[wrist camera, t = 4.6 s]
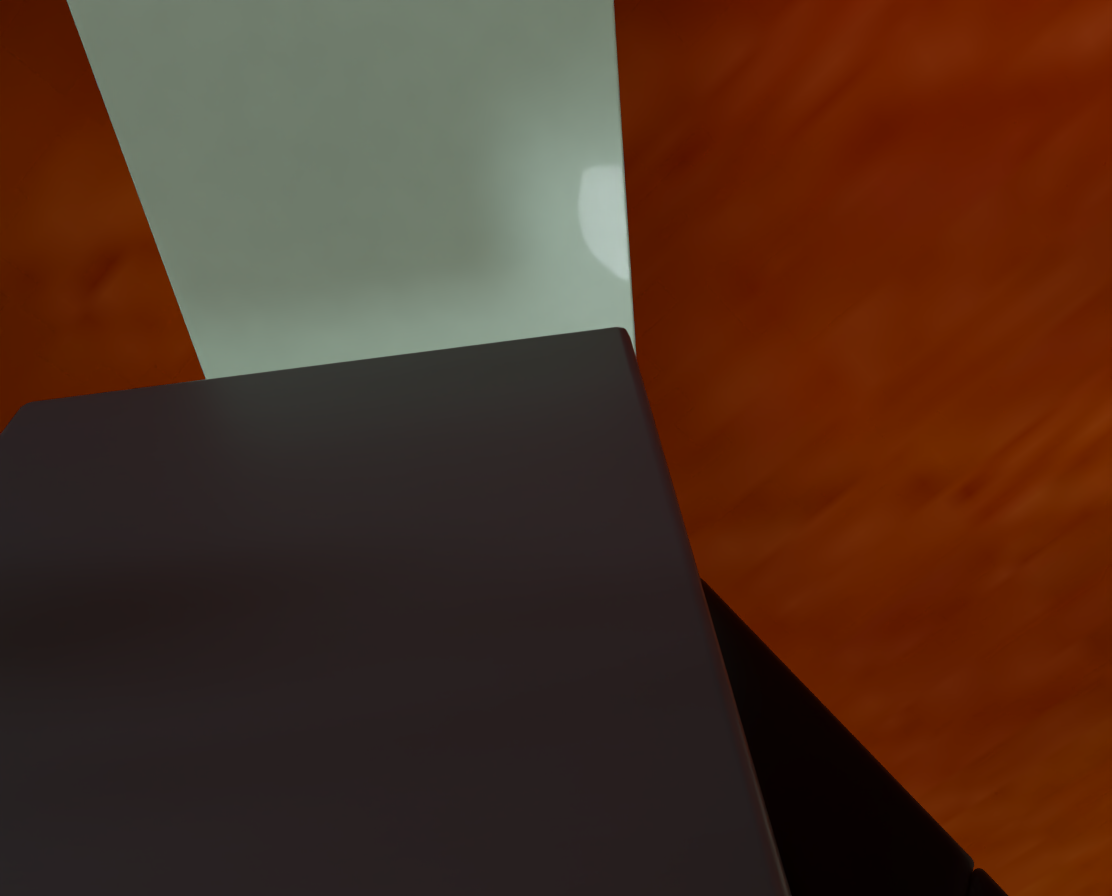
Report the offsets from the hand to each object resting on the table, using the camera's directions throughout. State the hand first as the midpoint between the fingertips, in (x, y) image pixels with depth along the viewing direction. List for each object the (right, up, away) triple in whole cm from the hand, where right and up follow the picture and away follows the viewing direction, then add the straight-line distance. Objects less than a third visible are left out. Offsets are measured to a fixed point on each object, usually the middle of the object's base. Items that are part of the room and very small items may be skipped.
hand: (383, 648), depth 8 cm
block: (0, 0, +1) cm, 1 cm away
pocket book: (-1, +6, +8) cm, 10 cm away
